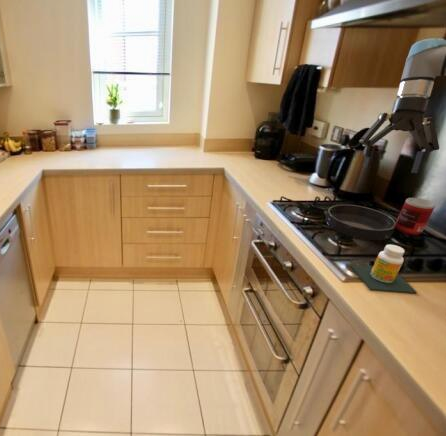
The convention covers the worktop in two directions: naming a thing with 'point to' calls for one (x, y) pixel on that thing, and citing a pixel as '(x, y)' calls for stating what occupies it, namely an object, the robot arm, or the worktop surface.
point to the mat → (376, 285)
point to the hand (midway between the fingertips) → (390, 170)
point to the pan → (360, 222)
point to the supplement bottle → (388, 264)
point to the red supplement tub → (414, 216)
